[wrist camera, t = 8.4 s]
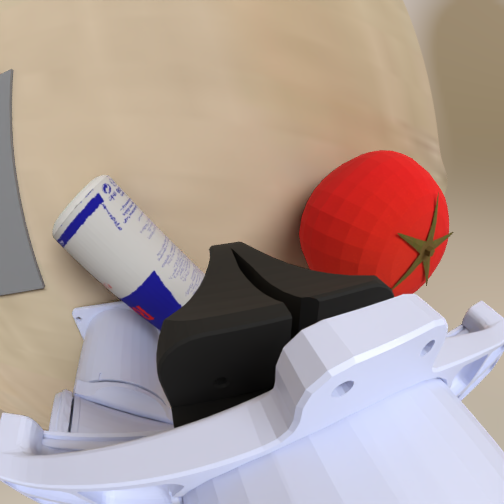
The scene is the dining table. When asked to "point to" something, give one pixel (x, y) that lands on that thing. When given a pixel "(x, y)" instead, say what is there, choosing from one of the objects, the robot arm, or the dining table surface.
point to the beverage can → (126, 251)
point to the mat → (13, 210)
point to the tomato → (377, 221)
